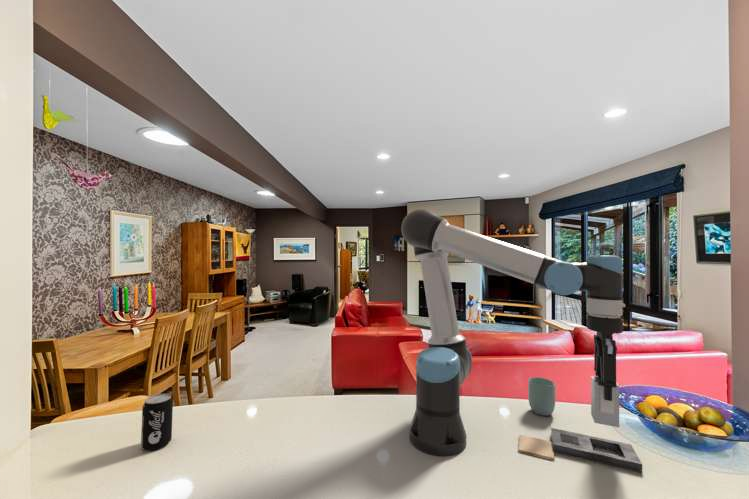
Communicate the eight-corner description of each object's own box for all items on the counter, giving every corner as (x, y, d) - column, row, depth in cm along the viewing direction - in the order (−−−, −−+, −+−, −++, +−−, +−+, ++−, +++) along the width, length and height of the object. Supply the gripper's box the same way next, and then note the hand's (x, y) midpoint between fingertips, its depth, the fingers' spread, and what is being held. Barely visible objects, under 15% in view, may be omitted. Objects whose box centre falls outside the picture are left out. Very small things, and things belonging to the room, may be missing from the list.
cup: (559, 419, 99) (558, 387, 99) (532, 417, 100) (531, 384, 101) (550, 408, 106) (550, 378, 107) (525, 406, 108) (525, 376, 108)
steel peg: (594, 422, 80) (594, 382, 80) (591, 414, 84) (591, 375, 85) (619, 427, 78) (619, 386, 78) (614, 418, 82) (614, 379, 82)
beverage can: (177, 441, 84) (178, 395, 85) (150, 455, 79) (152, 405, 79) (161, 435, 87) (163, 391, 88) (135, 448, 81) (136, 400, 82)
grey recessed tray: (553, 452, 82) (553, 443, 82) (551, 435, 90) (551, 427, 90) (642, 473, 74) (642, 463, 74) (631, 452, 82) (631, 444, 82)
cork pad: (518, 451, 82) (518, 449, 82) (519, 436, 89) (519, 434, 89) (554, 460, 78) (554, 458, 78) (552, 444, 85) (552, 441, 85)
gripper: (632, 322, 72) (633, 427, 71) (614, 311, 88) (614, 397, 87) (593, 319, 75) (593, 419, 75) (581, 309, 92) (581, 391, 91)
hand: (604, 407), depth 81 cm, fingers closed on steel peg, 5 cm apart
